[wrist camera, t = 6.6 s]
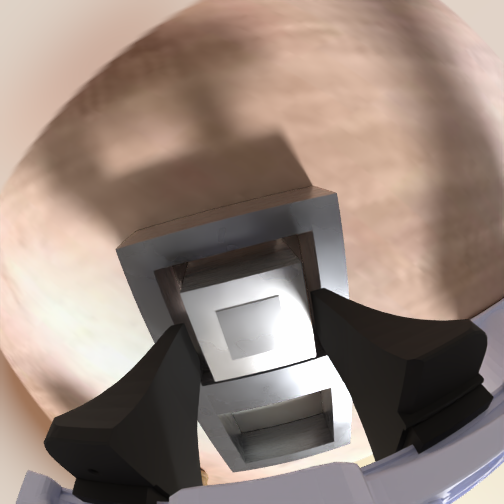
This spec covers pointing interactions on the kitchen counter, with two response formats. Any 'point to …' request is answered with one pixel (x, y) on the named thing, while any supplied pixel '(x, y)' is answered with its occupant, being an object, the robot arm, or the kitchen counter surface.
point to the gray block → (249, 309)
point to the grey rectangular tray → (269, 381)
